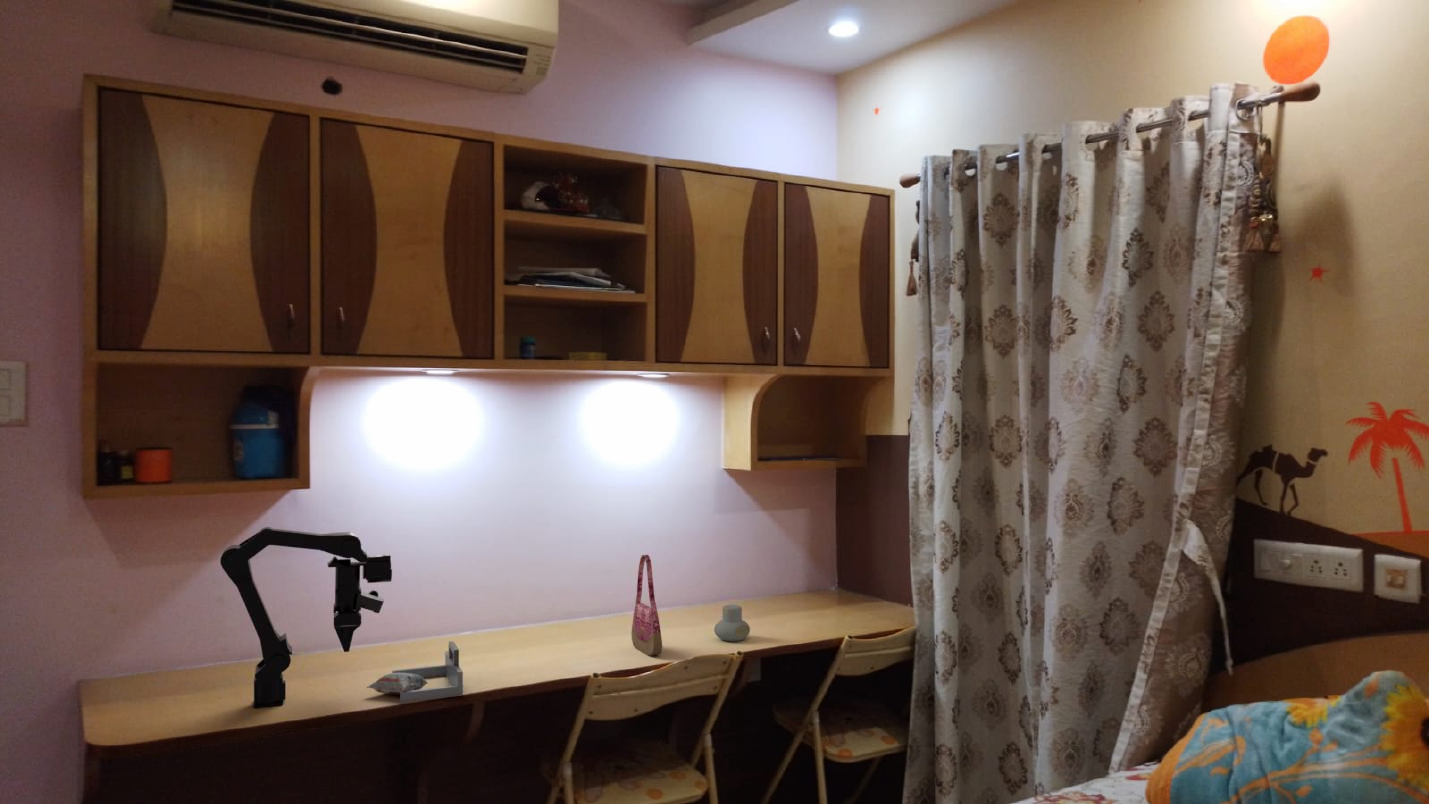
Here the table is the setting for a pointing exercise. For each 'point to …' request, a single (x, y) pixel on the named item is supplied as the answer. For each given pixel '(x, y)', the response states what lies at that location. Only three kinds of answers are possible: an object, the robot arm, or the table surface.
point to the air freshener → (732, 624)
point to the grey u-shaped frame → (448, 669)
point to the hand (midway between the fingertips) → (346, 647)
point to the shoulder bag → (646, 616)
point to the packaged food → (398, 683)
